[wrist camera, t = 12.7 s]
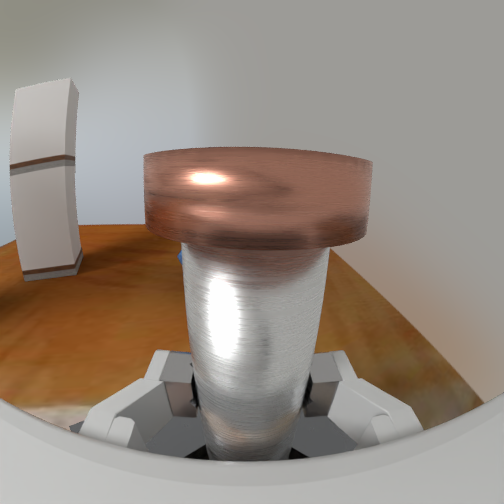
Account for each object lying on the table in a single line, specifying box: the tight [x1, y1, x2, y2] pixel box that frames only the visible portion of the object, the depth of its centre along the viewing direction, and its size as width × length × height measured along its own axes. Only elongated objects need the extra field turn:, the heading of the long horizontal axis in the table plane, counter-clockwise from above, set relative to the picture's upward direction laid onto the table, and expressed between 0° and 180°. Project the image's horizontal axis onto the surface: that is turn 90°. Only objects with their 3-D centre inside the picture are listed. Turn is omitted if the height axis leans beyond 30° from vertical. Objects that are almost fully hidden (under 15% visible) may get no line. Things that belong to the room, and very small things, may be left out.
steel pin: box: [144, 147, 372, 462], centre depth 9 cm, size 5×5×16 cm
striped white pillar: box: [10, 78, 83, 281], centre depth 38 cm, size 11×11×35 cm
